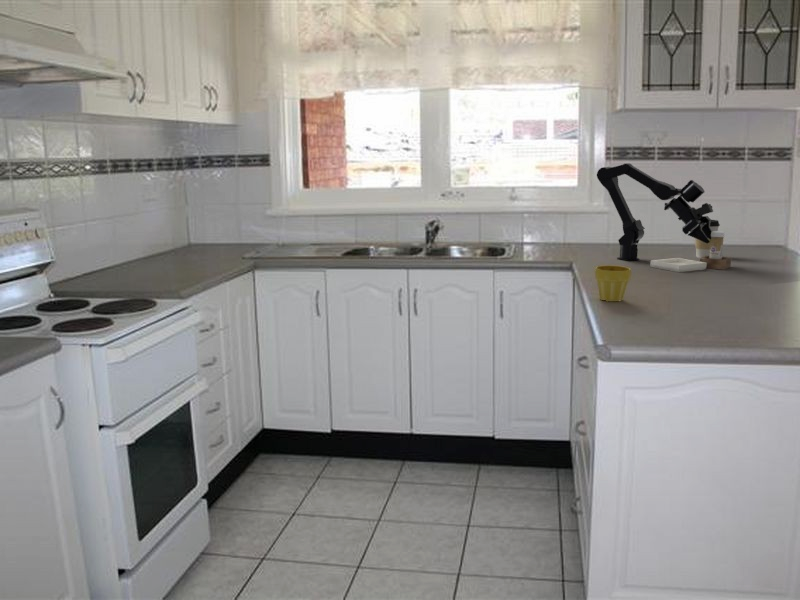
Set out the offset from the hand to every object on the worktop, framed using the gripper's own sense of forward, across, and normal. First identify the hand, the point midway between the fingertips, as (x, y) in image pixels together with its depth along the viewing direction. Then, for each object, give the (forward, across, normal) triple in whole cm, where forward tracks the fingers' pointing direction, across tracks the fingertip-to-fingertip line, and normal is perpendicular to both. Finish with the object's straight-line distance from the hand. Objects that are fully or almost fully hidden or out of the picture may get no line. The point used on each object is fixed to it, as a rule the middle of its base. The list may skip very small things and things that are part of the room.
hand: (711, 241), depth 292 cm
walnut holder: (+8, 0, +6) cm, 10 cm away
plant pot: (+1, -81, +13) cm, 82 cm away
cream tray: (0, -10, +13) cm, 17 cm away
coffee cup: (+1, +24, +13) cm, 27 cm away
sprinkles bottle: (+8, 0, +6) cm, 10 cm away
